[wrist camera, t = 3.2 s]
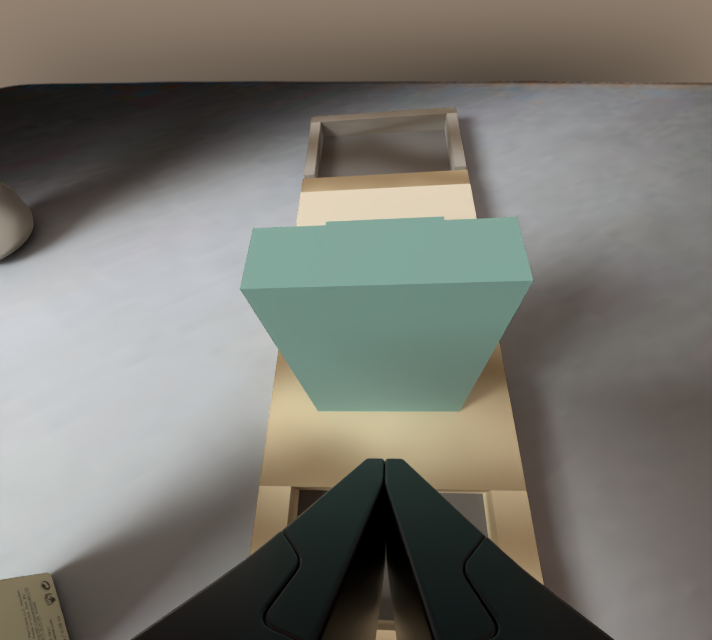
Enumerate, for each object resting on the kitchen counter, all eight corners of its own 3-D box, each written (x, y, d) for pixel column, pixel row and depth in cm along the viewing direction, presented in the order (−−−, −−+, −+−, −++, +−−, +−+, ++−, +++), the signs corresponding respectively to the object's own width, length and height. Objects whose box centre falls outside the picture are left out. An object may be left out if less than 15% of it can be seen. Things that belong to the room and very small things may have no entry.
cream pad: (480, 295, 24) (487, 277, 22) (295, 299, 25) (288, 283, 23) (465, 204, 27) (470, 183, 26) (306, 212, 28) (300, 192, 27)
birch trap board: (552, 728, 14) (575, 756, 12) (244, 705, 15) (225, 728, 13) (452, 127, 32) (455, 104, 30) (315, 136, 33) (311, 114, 31)
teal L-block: (459, 411, 18) (533, 280, 9) (318, 411, 19) (240, 289, 9) (439, 239, 23) (472, 41, 14) (330, 243, 24) (289, 56, 15)
